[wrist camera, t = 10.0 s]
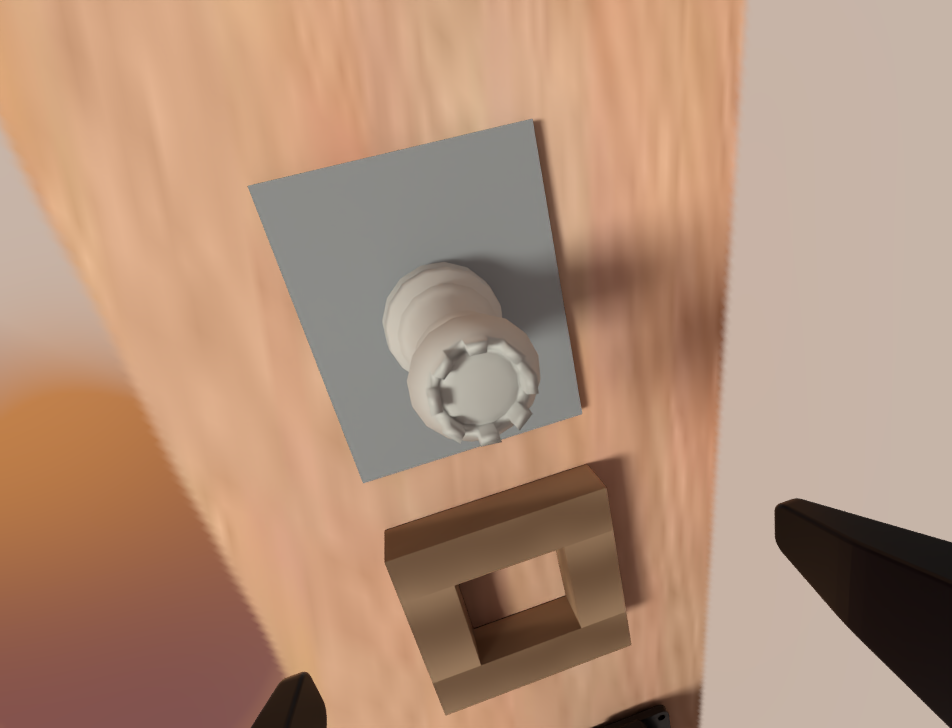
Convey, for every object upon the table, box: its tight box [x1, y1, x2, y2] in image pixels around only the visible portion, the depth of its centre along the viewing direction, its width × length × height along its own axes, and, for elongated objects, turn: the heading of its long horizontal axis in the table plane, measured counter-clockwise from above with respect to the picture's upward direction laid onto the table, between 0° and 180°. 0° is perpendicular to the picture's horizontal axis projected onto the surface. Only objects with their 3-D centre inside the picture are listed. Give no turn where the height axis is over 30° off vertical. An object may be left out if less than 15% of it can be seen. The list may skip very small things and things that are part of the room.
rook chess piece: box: [382, 262, 541, 447], centre depth 13 cm, size 4×4×8 cm
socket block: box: [385, 464, 631, 715], centre depth 21 cm, size 10×10×2 cm
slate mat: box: [248, 119, 582, 483], centre depth 17 cm, size 12×10×1 cm
